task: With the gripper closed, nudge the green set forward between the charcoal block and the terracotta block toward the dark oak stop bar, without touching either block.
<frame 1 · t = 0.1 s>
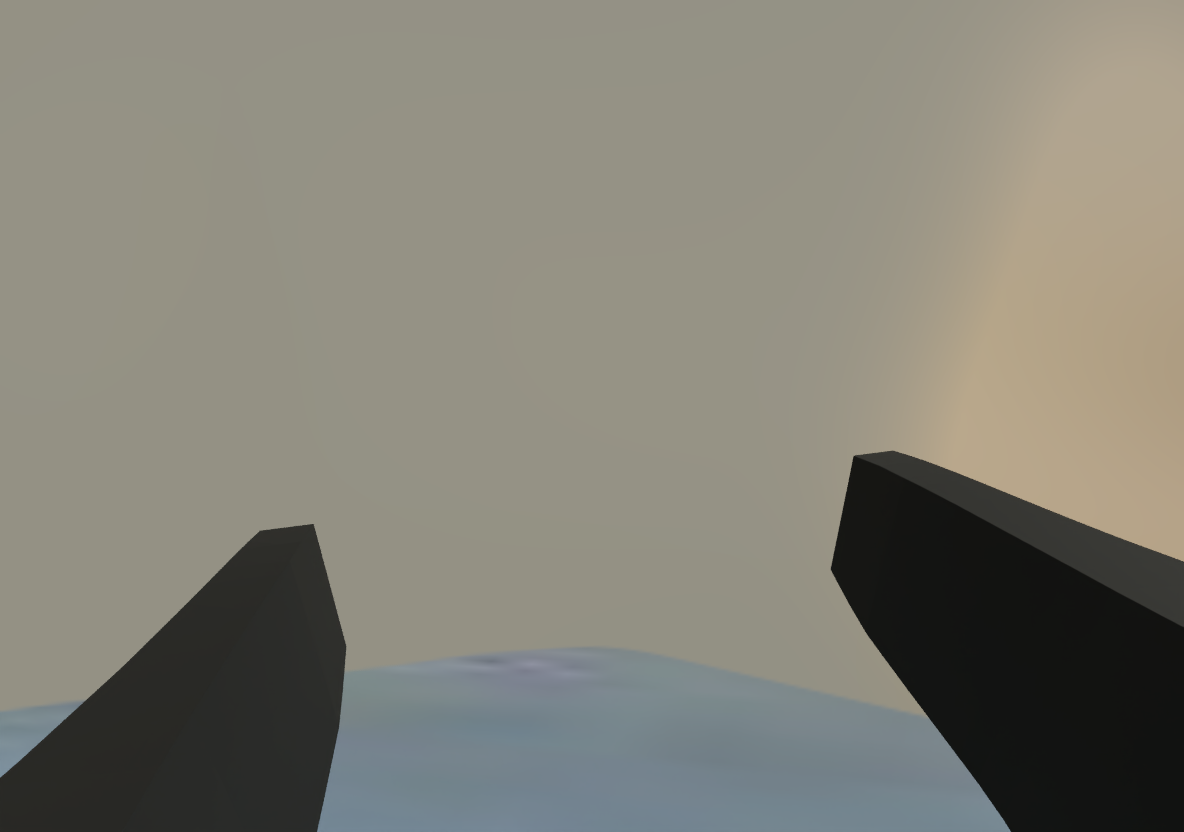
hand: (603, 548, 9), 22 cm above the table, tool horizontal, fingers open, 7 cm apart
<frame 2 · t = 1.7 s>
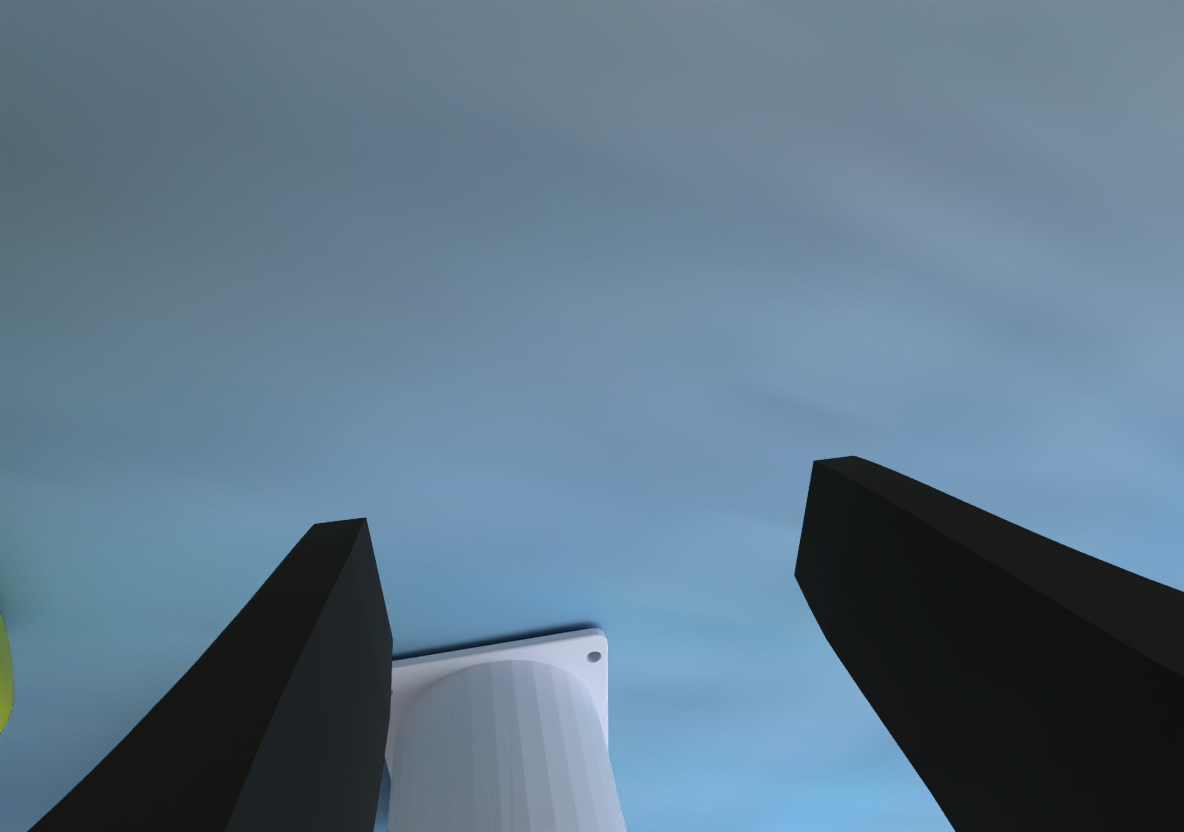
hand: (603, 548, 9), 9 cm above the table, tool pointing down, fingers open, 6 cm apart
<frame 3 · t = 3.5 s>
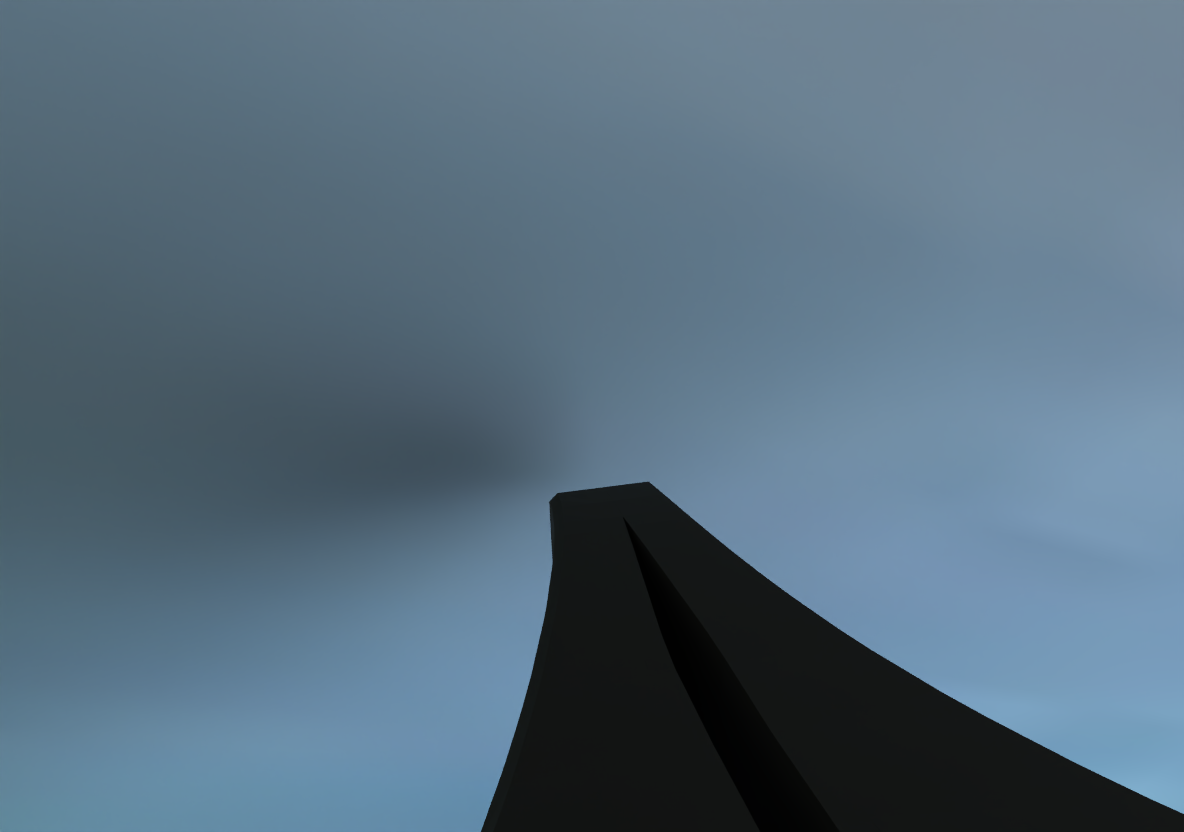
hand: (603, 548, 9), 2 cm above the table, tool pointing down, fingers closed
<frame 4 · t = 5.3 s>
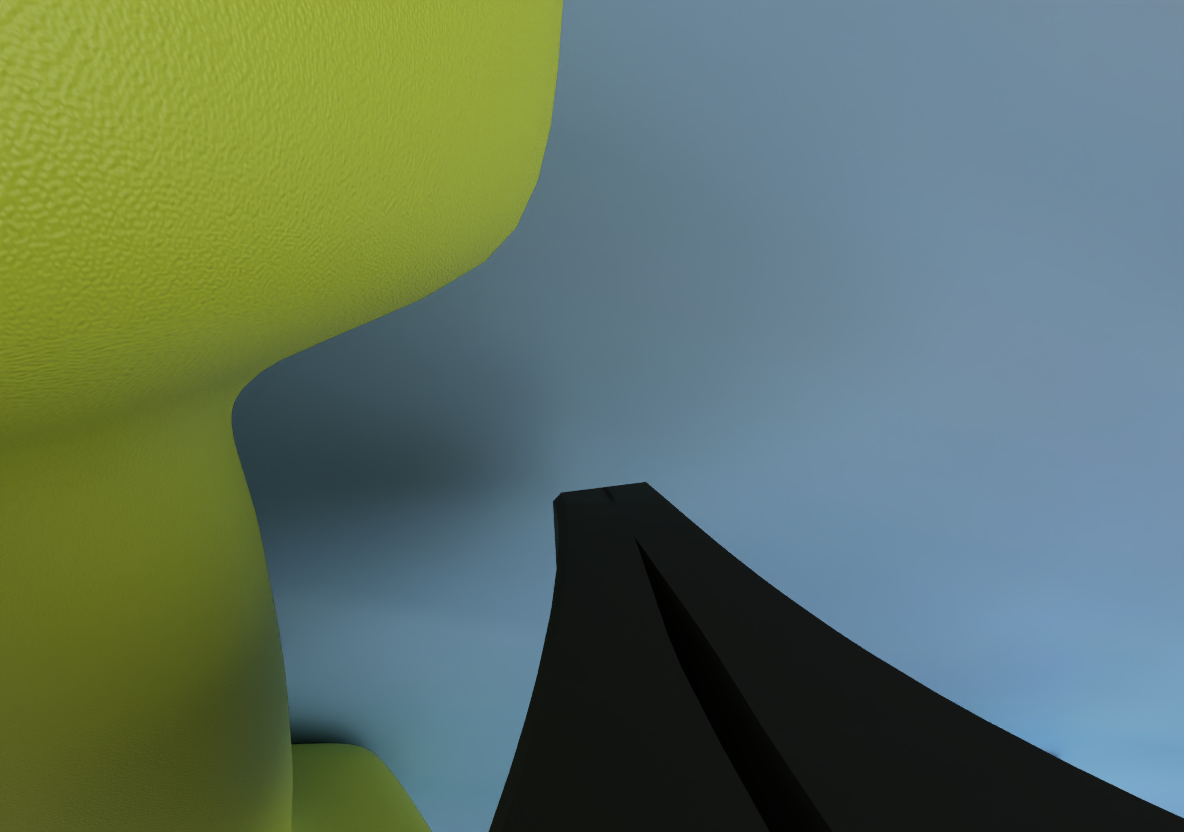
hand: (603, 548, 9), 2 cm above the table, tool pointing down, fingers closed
dumbbell: (226, 499, 10), on the table, touching gripper
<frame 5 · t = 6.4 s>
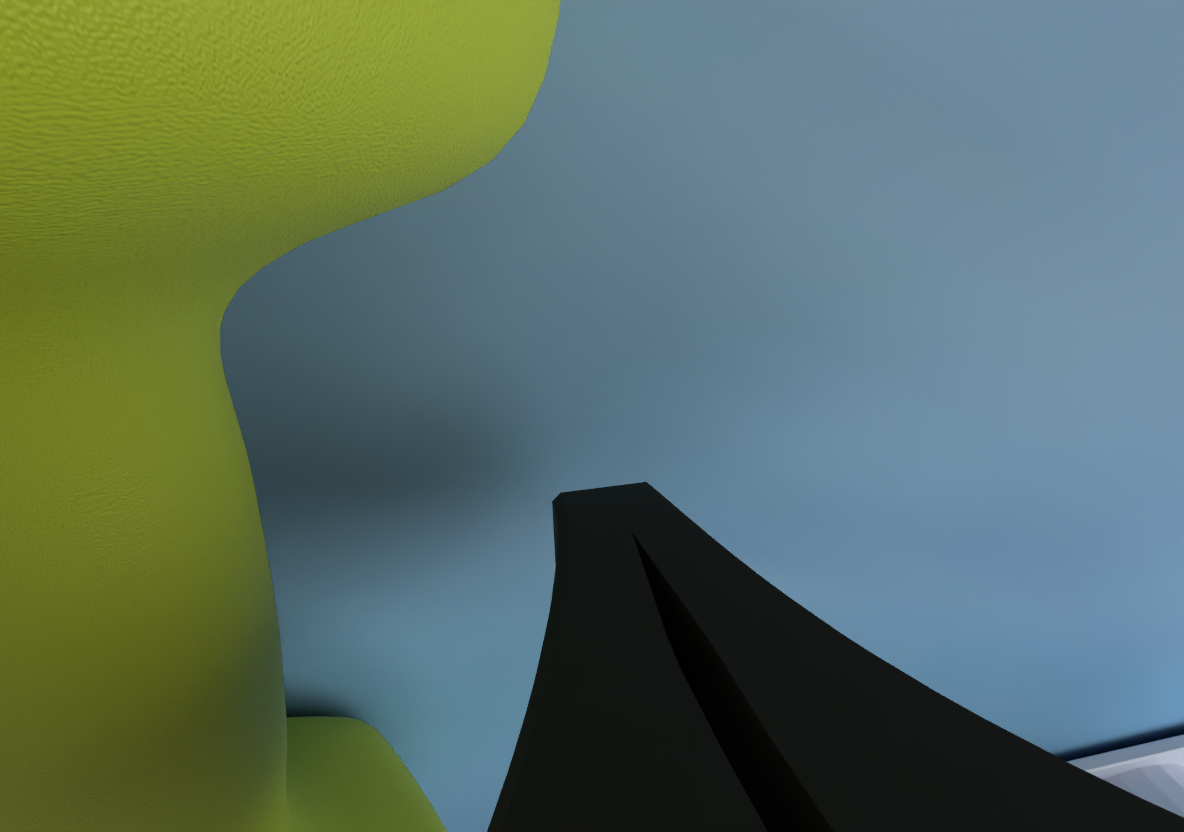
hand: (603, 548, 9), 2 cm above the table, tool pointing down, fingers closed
dumbbell: (219, 459, 9), on the table
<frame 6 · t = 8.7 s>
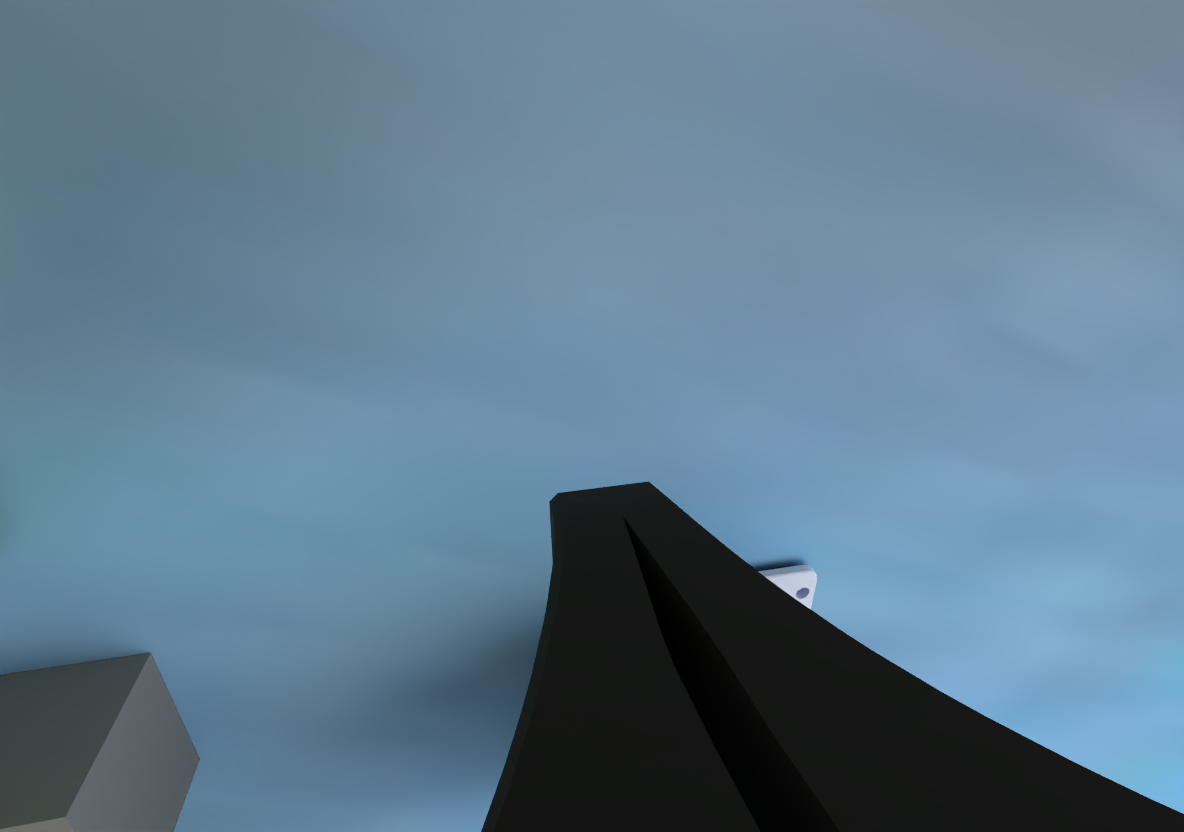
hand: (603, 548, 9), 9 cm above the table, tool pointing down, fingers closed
charcoal block: (89, 721, 20), on the table
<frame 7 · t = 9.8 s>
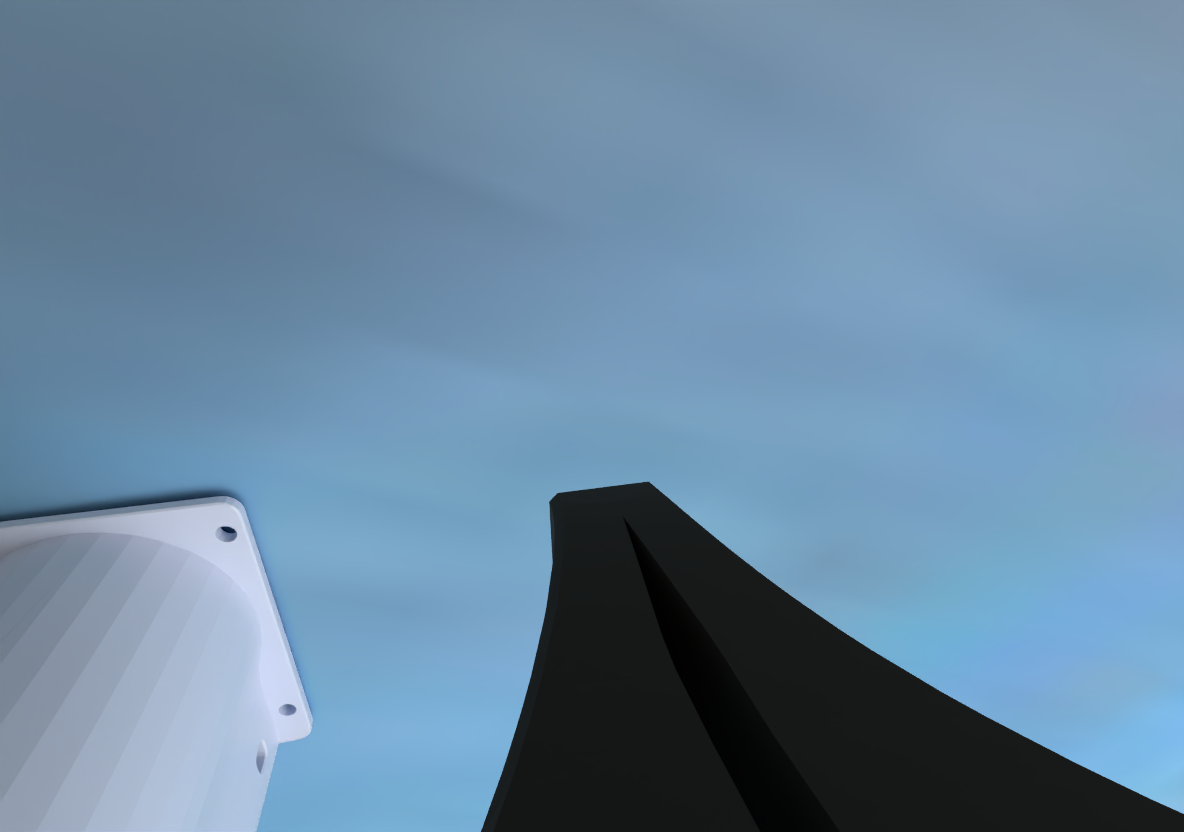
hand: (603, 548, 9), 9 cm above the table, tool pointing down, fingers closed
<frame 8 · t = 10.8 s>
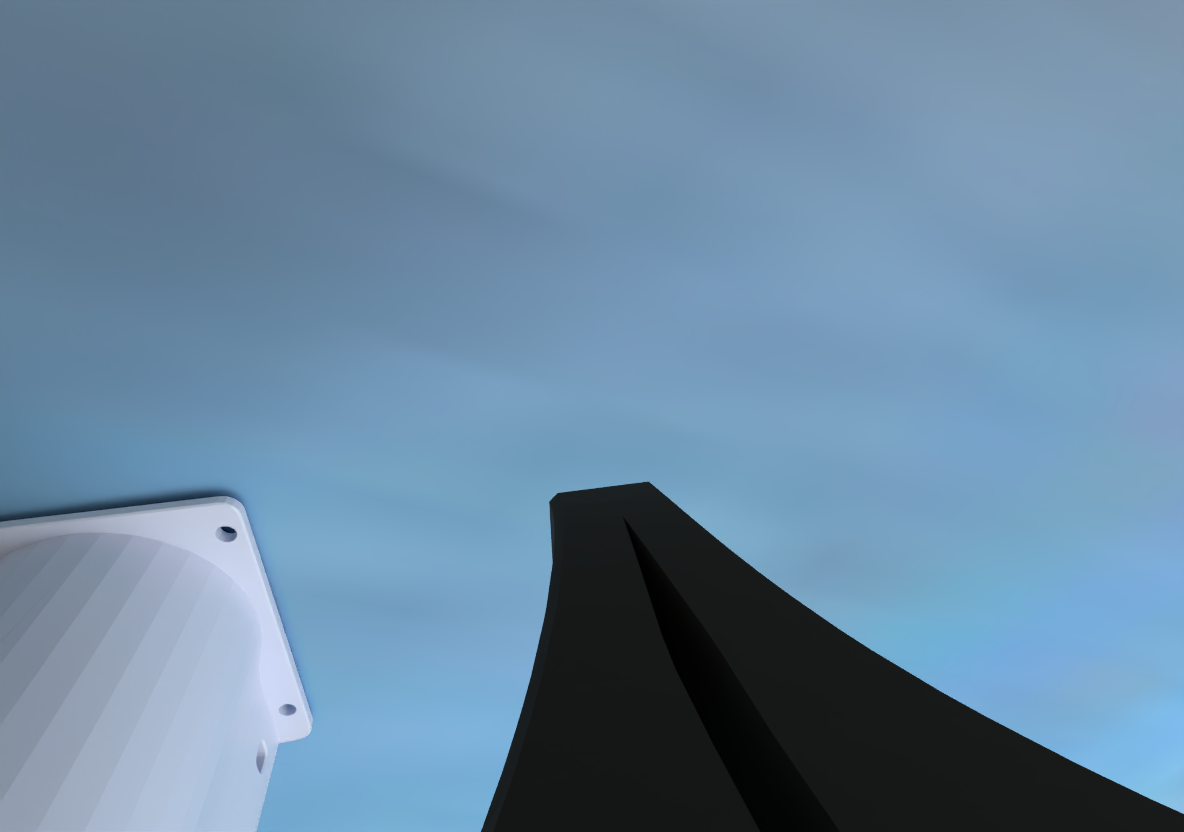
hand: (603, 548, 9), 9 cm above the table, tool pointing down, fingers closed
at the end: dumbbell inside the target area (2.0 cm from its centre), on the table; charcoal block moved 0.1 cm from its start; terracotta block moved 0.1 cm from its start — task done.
